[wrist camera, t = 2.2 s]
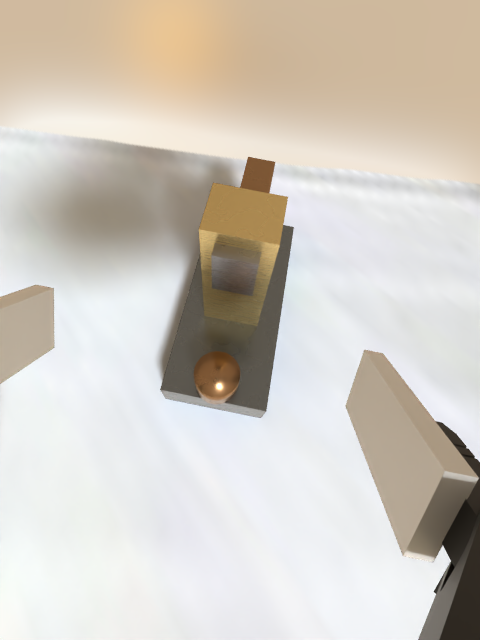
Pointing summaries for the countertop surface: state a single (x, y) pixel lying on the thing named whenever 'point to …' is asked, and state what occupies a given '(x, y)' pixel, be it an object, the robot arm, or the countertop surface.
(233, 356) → the hand plane
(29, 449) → the countertop surface
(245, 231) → the lever cap
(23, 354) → the robot arm
